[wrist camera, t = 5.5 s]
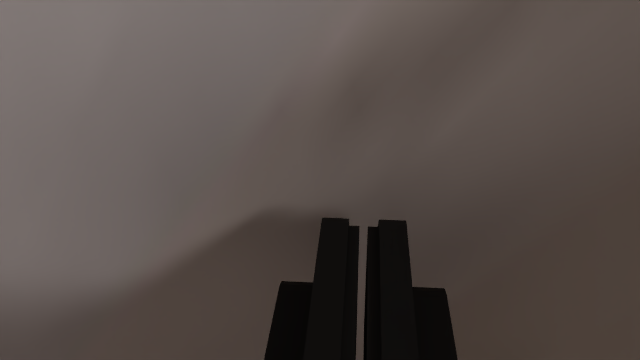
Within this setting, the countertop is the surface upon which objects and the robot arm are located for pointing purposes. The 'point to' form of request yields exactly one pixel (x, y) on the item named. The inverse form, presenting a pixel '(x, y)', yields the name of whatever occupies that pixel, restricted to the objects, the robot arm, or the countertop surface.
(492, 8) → the countertop surface
